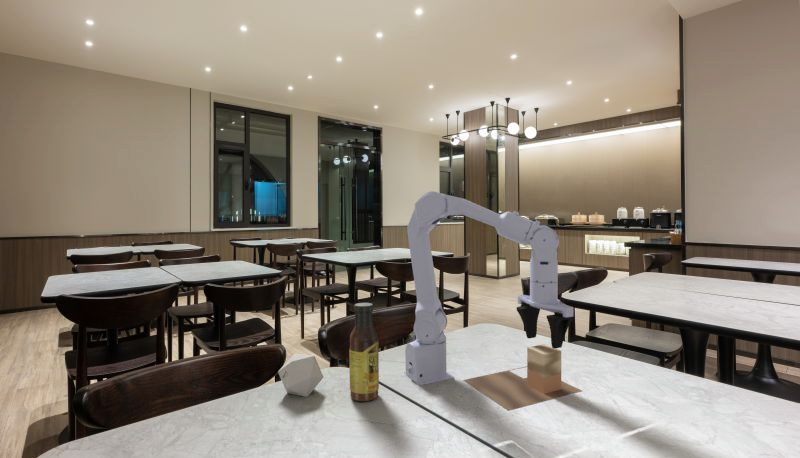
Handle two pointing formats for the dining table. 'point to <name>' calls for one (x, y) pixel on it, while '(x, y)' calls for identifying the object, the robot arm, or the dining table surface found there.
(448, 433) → the dining table surface
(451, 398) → the dining table surface
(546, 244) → the robot arm
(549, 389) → the terracotta base block
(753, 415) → the dining table surface
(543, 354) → the maple block
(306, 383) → the die
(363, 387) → the sauce bottle
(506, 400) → the build board
